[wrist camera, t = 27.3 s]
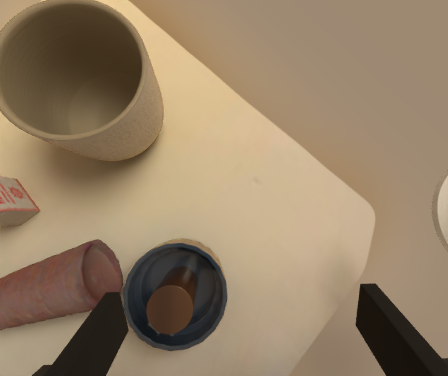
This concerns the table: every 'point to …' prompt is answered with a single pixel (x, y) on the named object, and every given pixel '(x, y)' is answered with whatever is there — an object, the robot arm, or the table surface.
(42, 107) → the planter
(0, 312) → the pink vase
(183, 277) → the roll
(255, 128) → the table surface
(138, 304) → the bowl
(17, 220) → the tea bag
